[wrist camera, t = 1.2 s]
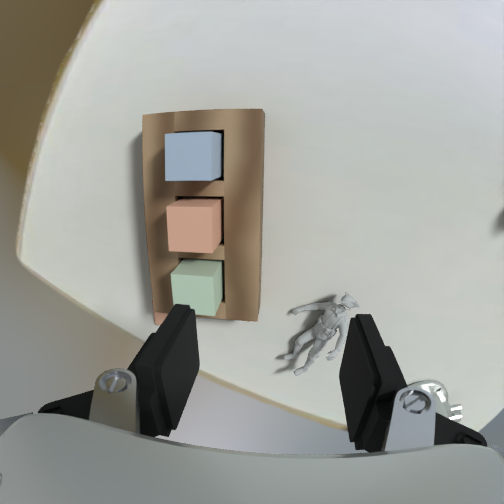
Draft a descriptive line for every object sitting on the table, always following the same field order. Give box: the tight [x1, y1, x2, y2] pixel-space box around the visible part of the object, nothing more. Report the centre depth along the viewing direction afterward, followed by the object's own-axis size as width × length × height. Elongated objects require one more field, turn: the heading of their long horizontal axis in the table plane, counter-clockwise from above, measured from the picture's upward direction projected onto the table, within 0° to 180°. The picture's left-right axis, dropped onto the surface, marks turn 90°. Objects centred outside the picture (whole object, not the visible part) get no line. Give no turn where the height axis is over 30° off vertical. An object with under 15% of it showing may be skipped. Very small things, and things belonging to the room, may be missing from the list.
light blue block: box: [165, 132, 224, 181], centre depth 28 cm, size 4×4×6 cm
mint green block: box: [171, 258, 225, 316], centre depth 32 cm, size 4×4×6 cm
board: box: [142, 109, 265, 321], centre depth 33 cm, size 12×22×4 cm, turn 179°
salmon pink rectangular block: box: [166, 197, 224, 253], centre depth 30 cm, size 4×4×6 cm
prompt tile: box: [152, 300, 168, 325], centre depth 39 cm, size 4×4×1 cm
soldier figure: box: [283, 292, 359, 376], centre depth 36 cm, size 8×5×12 cm
